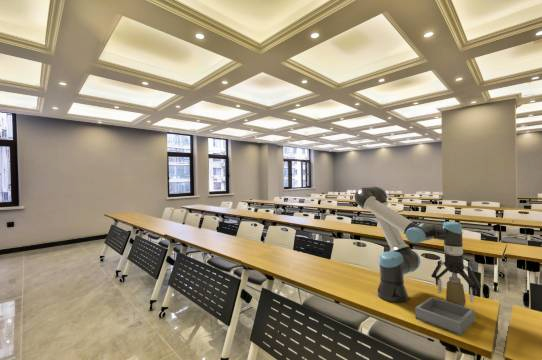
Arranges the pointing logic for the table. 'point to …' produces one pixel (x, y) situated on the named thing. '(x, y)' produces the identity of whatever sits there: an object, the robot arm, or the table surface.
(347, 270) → the table surface
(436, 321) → the bin
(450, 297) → the squeeze bottle
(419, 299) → the table surface
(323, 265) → the table surface
